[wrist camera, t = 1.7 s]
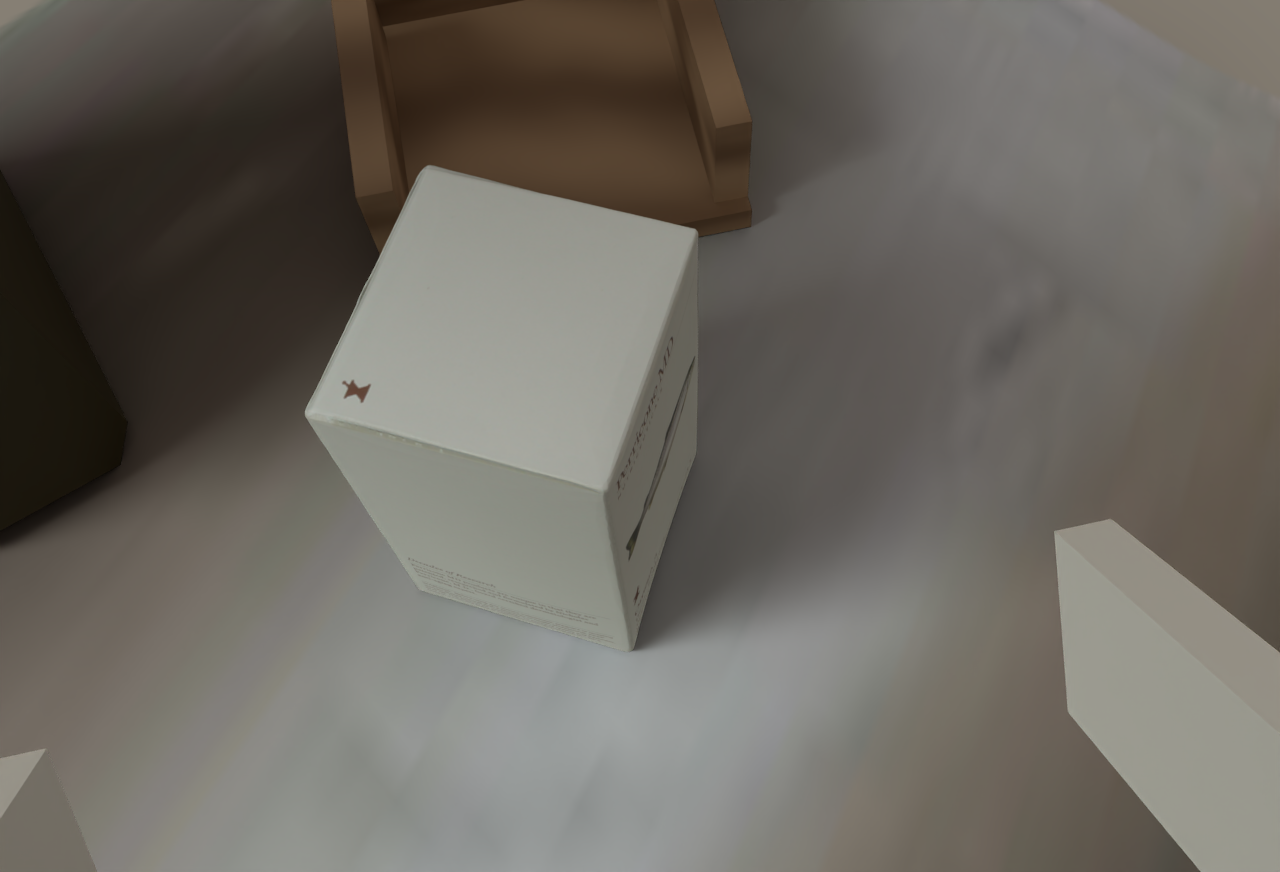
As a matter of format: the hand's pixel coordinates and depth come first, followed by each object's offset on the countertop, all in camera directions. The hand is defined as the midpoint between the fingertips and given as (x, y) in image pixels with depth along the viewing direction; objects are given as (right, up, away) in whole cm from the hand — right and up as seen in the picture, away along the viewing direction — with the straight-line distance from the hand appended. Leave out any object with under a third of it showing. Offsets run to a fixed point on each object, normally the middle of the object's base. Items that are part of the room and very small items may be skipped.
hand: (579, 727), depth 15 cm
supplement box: (-2, +1, +23) cm, 23 cm away
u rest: (-3, +16, +30) cm, 34 cm away
